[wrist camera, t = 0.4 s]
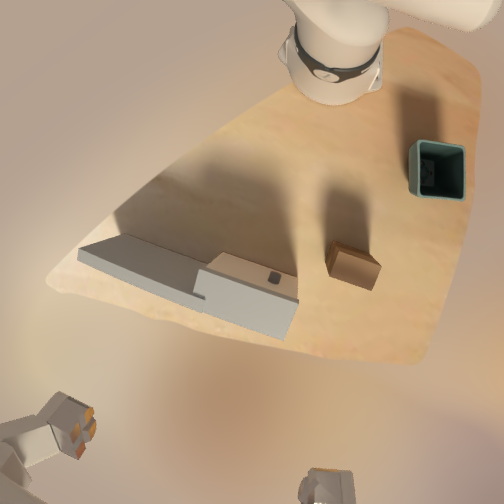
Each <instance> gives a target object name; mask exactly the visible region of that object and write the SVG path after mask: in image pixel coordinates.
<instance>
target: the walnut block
mask: <svg viewBox="0 0 504 504" xmlns="http://www.w3.org/2000/svg"><path fill="white" fill-rule="evenodd" d="M325 263H326V267H327V270H328V273H329V276H330V277H333V278H336V279H339V280H341V281H344V282H347V283H350V284H353V285H356V286H359V287H362V288H365V289H367V290H370V291H372V289H373V286H374V284H375V282H376V279H377V277H378V274H379V272H380V270H381V267H382V266H381V265H380V264H379V263H378V262H377V261H376V260H375V259H374V258H373V257H372V256H371V255H370V254H369V253H366V252H363V251H361V250H358V249H355V248H352V247H350V246H347V245H344V244H341V243H339V242H336V241H333V242H332V245H331V247H330V250H329V253H328V255H327V258H326V261H325Z"/></svg>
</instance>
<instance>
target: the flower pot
mask: <svg viewBox="0 0 504 504" xmlns="http://www.w3.org/2000/svg"><path fill="white" fill-rule="evenodd" d="M422 162H423V163H424V164H423V165H421V163H422ZM429 172H431V175H429ZM465 179H466V172H465V147H464V146H462V145H456V144H449V143H443V142H436V141H430V140H423V139H419V140H417V141H416V142H415V143H414V144H413V145H412V146H411V147H410V148H409V191H410V193H411V194H413V195H415V196H417V197H419V198H431V199H444V200H453V201H460V202H463V201H465V195H466V194H465V192H466V191H465V190H466V183H465V182H466V180H465ZM422 180H423V181H424V182H423V183H421V181H422Z"/></svg>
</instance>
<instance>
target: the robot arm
mask: <svg viewBox="0 0 504 504" xmlns="http://www.w3.org/2000/svg"><path fill="white" fill-rule="evenodd" d="M283 1H284V2H285V3H286V4H287V5H288V6H289V7H290V8H291V9H292V10H293V12H294V13H295V17H296V24H295V27H294V26H292V27H291V29H290V34H289V36H288V38H287V39H286V41H285V42H284V44H283V45H282V47H281V48H280V50H279V52H278V57H279V59H280V60H281V62H282V63H283V64H284V65H285V66H286V67H287V68H288V70H289V73H290V75H291V78H292V80H293V82H294V84H295V85H296V87H297V88H298V89H299V90H300V91H301V92H302V93H303V94H304V95H305V96H307V97H308V98H310V99H312V100H314V101H316V102H319V103H322V104H327V105H342V104H347V103H350V102H352V101H354V100H356V99H357V98H359V97H360V96H362V95H363V94H365V93H369V92H374V91H378V90H379V89H380V88H381V86H382V74H383V38H384V36H385V34H386V33H387V30H388V27H389V12H388V9H387V8H390V9H393V10H396V11H398V12H401V13H404V14H406V15H409V16H411V17H414V18H416V19H418V20H422V21H426V22H430V23H433V24H437V25H440V26H444V27H448V28H451V29H455V30H458V31H462V32H471V31H474V30H477V29H479V28H481V27H483V26H485V25H486V24H488V23H489V22H490V21H491V20H492V19H493V18H494V17H495V15H496V14H497V12H498V10H499V8H500V6H501V2H502V0H283ZM376 77H377V79H376ZM93 414H94V410H93V407H90V406H88V405H86V404H84V403H82V402H80V401H77V400H75V399H74V398H72V397H70V396H68V395H66V394H64V393H62V392H60V391H59V392H57V393H55V394H54V395H53V397H52V398H51V399H50V400H49V401H48V403H47V404H46V405H45V406H44V407H43V408H42V409H41V411H40V412H39V413H38V414H37V416H35V415H30V416H27V417H23V418H20V419H16V420H13V421H9V422H5V423H2V424H0V504H47V503H46V502H44V501H42V500H41V499H39V498H38V497H36V496H34V495H33V494H31V493H30V492H28V491H27V490H26V489H27V488H28V486H29V485H30V483H31V481H32V479H31V477H30V475H29V473H28V472H27V471H26V469H25V468H27V467H29V466H31V465H33V464H36V463H38V462H40V461H42V460H45V459H47V458H49V457H51V456H53V455H55V454H57V453H59V452H60V451H61V452H63V453H65V454H67V455H69V456H71V457H73V458H75V459H77V460H79V458H80V457H81V455H82V454H83V452H84V451H85V449H86V448H85V443H86V442H89V441H91V439H92V438H93V436H94V434H95V430H96V420H95V419H94V418H93ZM298 499H299V501H300V502H301V504H356V498H355V489H354V481H353V474H352V472H351V471H350V470H337V469H322V468H311V469H310V470H309V471H308V476H307V477H305V478H303V480H302V481H301V484H300V487H299V491H298Z"/></svg>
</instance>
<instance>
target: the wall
mask: <svg viewBox="0 0 504 504" xmlns="http://www.w3.org/2000/svg"><path fill="white" fill-rule="evenodd" d="M77 260H78V261H80V262H82V263H84V264H87V265H89V266H91V267H93V268H95V269H97V270H100V271H102V272H104V273H106V274H108V275H111V276H113V277H115V278H117V279H120V280H122V281H124V282H127V283H129V284H131V285H134V286H136V287H138V288H141V289H143V290H145V291H148V292H150V293H152V294H155V295H157V296H160V297H162V298H165V299H167V300H170V301H172V302H175V303H177V304H180V305H182V306H185V307H187V308H190V309H192V310H195V311H197V312H200V313H202V312H204V313H206V314H209V315H212V316H214V317H217V318H220V319H222V320H225V321H228V322H231V323H233V324H236V325H239V326H242V327H245V328H247V329H250V330H253V331H256V332H259V333H262V334H265V335H268V336H271V337H274V338H277V339H280V340H283V341H284V339H285V336H286V334H287V331H288V329H289V327H290V324H291V322H292V319H293V317H294V314H295V312H296V309H297V307H298V304H299V300H298V299H295V298H292V297H289V296H287V295H284V294H281V293H278V292H275V291H272V290H269V289H266V288H263V287H260V286H258V285H255V284H252V283H249V282H246V281H243V280H240V279H238V278H235V277H232V276H229V275H226V274H224V273H221V272H218V271H215V270H212V269H210V268H207V267H206V266H207V265H208V264H206V263H203V262H200V261H198V260H195V259H192V258H189V257H187V256H184V255H181V254H179V253H176V252H173V251H170V250H168V249H165V248H162V247H160V246H157V245H154V244H152V243H149V242H146V241H144V240H141V239H138V238H136V237H133V236H130V235H128V234H122V235H119V236H116V237H112V238H109V239H106V240H103V241H100V242H97V243H94V244H91V245H88V246H85V247H82V248H79V250H78V258H77Z"/></svg>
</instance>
